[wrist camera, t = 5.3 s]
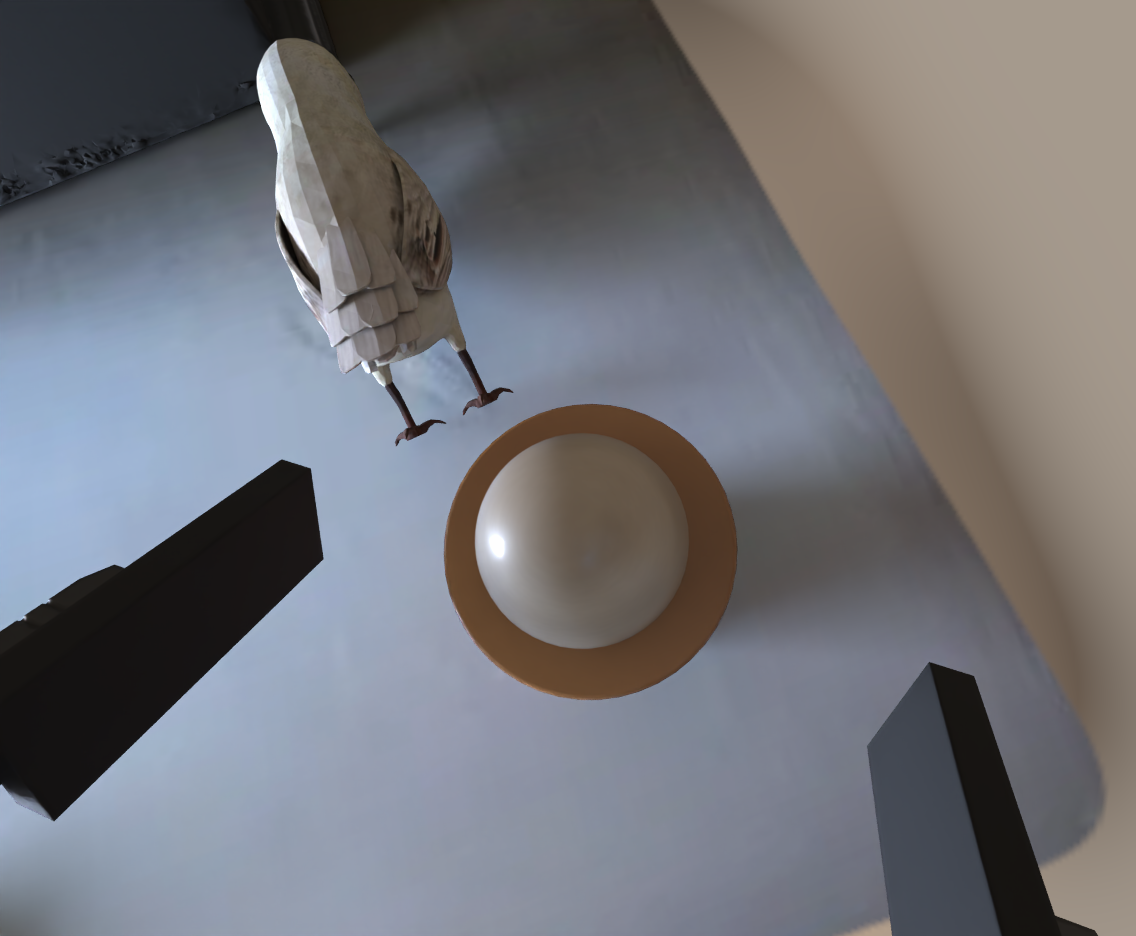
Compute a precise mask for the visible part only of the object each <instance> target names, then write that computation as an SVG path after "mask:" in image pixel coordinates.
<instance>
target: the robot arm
mask: <svg viewBox="0 0 1136 936" xmlns="http://www.w3.org/2000/svg"><path fill="white" fill-rule="evenodd" d="M322 560H323V552H322V545H321V538H320V531H319V523H318V516H317V509H316V502H315V495H314V488H313V481H312V474H311V468H307V467H304V466H301V465H298V464H295V463H291V462H288V461H285V460H282V459H281V460H280V461H279V462H277V463H276V464H274V465H273V466H271V467H270V468H269V469H267V470H266V471H264V472H263V473H261V474H260V475H258V476H257V477H256V478H254V479H253V480H251V481H250V482H248V483H247V484H245V485H244V486H243V487H241V488H240V489H238V490H237V491H235V492H234V493H232V494H231V495H230V496H228V497H227V498H225V499H224V500H222V501H221V502H220V503H218V504H217V505H215V506H214V507H212V508H211V509H209V510H208V511H207V512H205V513H204V514H202V515H201V516H199V517H198V518H196V519H195V520H194V521H192V522H191V523H189V524H188V525H186V526H185V527H184V528H182V529H181V530H179V531H178V532H176V533H175V534H173V535H172V536H171V537H169V538H168V539H166V540H165V541H163V542H162V543H160V544H159V545H158V546H156V547H155V548H153V549H152V550H150V551H149V552H148V553H146V554H145V555H143V556H142V557H140V558H139V559H137V560H136V561H135V562H133V563H132V564H130V565H129V566H127V567H126V568H122V567H120V566H117V565H112V566H110V567H107V568H105V569H103V570H100V571H98V572H95V573H93V574H90V575H88V576H85V577H83V578H81V579H79V580H77V581H76V582H74V583H73V584H71V585H70V586H68V587H67V588H65V589H64V590H62V591H61V592H59V593H58V594H56V595H55V596H53V597H52V598H50V599H49V601H48V603H47V604H41V605H40V606H38V607H37V608H35V609H33V610H32V611H30V612H29V613H27V614H26V615H24V618H23V619H22V620H21V621H15V622H14V623H12V624H11V625H9V626H8V627H6V628H5V629H3V630H2V631H0V785H1V784H2V785H3V786H4V788H5V789H6V790H7V791H8V793H9V794H10V795H11V797H12V798H13V799H14V800H15V802H16V803H17V804H19V805H21V806H23V807H25V808H28V809H30V810H32V811H34V812H36V813H38V814H40V815H42V816H44V817H46V818H48V819H50V820H52V821H55V820H56V819H57V818H58V817H59V816H60V815H61V814H62V813H63V812H64V811H65V810H66V809H67V808H68V807H69V806H70V805H71V804H72V803H73V802H74V801H76V800H77V799H78V798H79V797H80V796H81V795H82V794H83V793H84V792H85V791H86V790H87V789H88V788H89V787H90V786H91V785H92V784H93V783H94V782H95V781H96V780H97V779H98V778H99V777H100V776H101V775H102V774H103V773H104V772H105V771H106V770H107V769H108V768H109V767H110V766H111V765H112V764H113V763H115V762H116V761H117V760H118V759H119V758H120V757H121V756H122V755H123V754H124V753H125V752H126V751H127V750H128V749H129V748H130V747H131V746H132V745H133V744H134V743H135V742H136V741H137V740H138V739H139V738H140V737H141V736H142V735H143V734H144V733H145V732H146V731H147V730H148V729H149V728H150V727H151V726H153V725H154V724H155V723H156V722H157V721H158V720H159V719H160V718H161V717H162V716H163V715H164V714H165V713H166V712H167V711H168V710H169V709H170V708H171V707H172V706H173V705H174V704H175V703H176V702H177V701H178V700H179V699H180V698H181V697H182V696H183V695H184V694H185V693H186V692H187V691H188V690H189V689H190V688H192V687H193V686H194V685H195V684H196V683H197V682H198V681H199V680H200V679H201V678H202V677H203V676H204V675H205V674H206V673H207V672H208V671H209V670H210V669H211V668H212V667H213V666H214V665H215V664H216V663H217V662H218V661H219V660H220V659H221V658H222V657H223V656H224V655H225V654H226V653H227V652H228V651H230V650H231V649H232V648H233V647H234V646H235V645H236V644H237V643H238V642H239V641H240V640H241V639H242V638H243V637H244V636H245V635H246V634H247V633H248V632H249V631H250V630H251V629H252V628H253V627H254V626H255V625H256V624H257V623H258V622H259V621H260V620H261V619H262V618H263V617H264V616H265V615H266V614H267V613H269V612H270V611H271V610H272V609H273V608H274V607H275V606H276V605H277V604H278V603H279V602H280V601H281V600H282V599H283V598H284V597H285V596H286V595H287V594H288V593H289V592H290V591H291V590H292V589H293V588H294V587H295V586H296V585H297V584H298V583H299V582H300V581H301V580H302V579H303V578H304V577H305V576H307V575H308V574H309V573H310V572H311V571H312V570H313V569H314V568H315V567H316V566H317V565H318V564H319V563H320V562H321V561H322ZM867 749H868V756H869V764H870V771H871V779H872V786H873V794H874V802H875V809H876V817H877V824H878V832H879V839H880V847H881V855H882V862H883V870H884V877H885V885H886V892H887V900H888V908H889V915H890V923H891V930H892V936H1098V935H1097V933H1096V932H1095V930H1092V929H1089V928H1087V927H1084V926H1081V925H1079V924H1076V923H1073V922H1071V921H1068V920H1065V919H1063V918H1060V917H1057V916H1055V915H1054V912H1053V909H1052V906H1051V903H1050V900H1049V897H1048V894H1047V891H1046V888H1045V885H1044V882H1043V879H1042V876H1041V873H1040V870H1039V867H1038V864H1037V861H1036V858H1035V855H1034V852H1033V849H1032V846H1031V843H1030V840H1029V837H1028V835H1027V832H1026V829H1025V826H1024V823H1023V820H1022V817H1021V814H1020V811H1019V808H1018V805H1017V802H1016V799H1015V796H1014V793H1013V790H1012V787H1011V784H1010V781H1009V778H1008V775H1007V772H1006V769H1005V766H1004V763H1003V760H1002V758H1001V755H1000V752H999V749H998V746H997V743H996V740H995V737H994V734H993V731H992V728H991V725H990V722H989V719H988V716H987V713H986V710H985V707H984V704H983V701H982V698H981V695H980V692H979V689H978V686H977V683H976V680H975V678H974V676H972V675H969V674H966V673H962V672H959V671H956V670H953V669H950V668H946V667H943V666H940V665H937V664H934V663H930V662H929V663H928V664H927V666H926V667H925V668H924V670H923V671H922V673H921V674H920V675H919V677H918V678H917V679H916V681H915V682H914V683H913V685H912V686H911V687H910V689H909V690H908V692H907V693H906V694H905V696H904V697H903V698H902V700H901V701H900V702H899V704H898V705H897V706H896V708H895V709H894V711H893V712H892V713H891V715H890V716H889V717H888V719H887V720H886V721H885V723H884V724H883V725H882V727H881V728H880V730H879V731H878V732H877V734H876V735H875V736H874V738H873V739H872V740H871V742H870V743H869V744H868V746H867Z"/></svg>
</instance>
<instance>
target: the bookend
mask: <svg viewBox="0 0 1136 936" xmlns="http://www.w3.org/2000/svg"><path fill="white" fill-rule="evenodd" d="M286 38H298V39H303V40H307V41H310V42H313V43H316V44H318V45H320V46H322V47H324V48H325V49H326V50H327V51H328V52H330V53H331V54H332V55H333V56H334V57H335V58H336V59H337V60H338V58H337V55H336V52H335V48H334V46H333V43H332V40H331V37H330V34H329V30H328V27H327V24H326V21H325V18H324V15H323V12H322V9H321V6H320V3H319V0H0V207H1V206H3V205H5V204H8V203H11V202H13V201H15V200H17V199H20V198H23V197H25V196H28V195H30V194H33V193H35V192H38V191H41V190H43V189H45V188H48V187H50V186H52V185H55V184H57V183H60V182H63V181H65V180H67V179H70V178H72V177H75V176H77V175H79V174H82V173H85V172H87V171H90V170H92V169H94V168H96V167H98V166H101V165H104V164H107V163H109V162H111V161H114V160H116V159H119V158H121V157H123V156H126V155H128V154H131V153H133V152H136V151H138V150H141V149H143V148H145V147H148V146H150V145H153V144H155V143H158V142H161V141H163V140H166V139H168V138H169V137H171V136H175V135H177V134H179V133H181V132H184V131H187V130H189V129H192V128H194V127H197V126H199V125H201V124H203V123H207V122H209V121H211V120H214V119H216V118H219V117H221V116H223V115H226V114H228V113H231V112H233V111H235V110H237V109H240V108H242V107H244V106H247V105H250V104H253V103H255V102H257V101H259V95H258V89H257V72H258V68H259V65H260V63H261V60H262V58H263V56H264V54H265V52H266V51H267V50H268V48H269V47H270V46H271V45H272V44H273V43H274V42H275V41H276V40H281V39H286Z"/></svg>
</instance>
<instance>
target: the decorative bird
mask: <svg viewBox="0 0 1136 936" xmlns="http://www.w3.org/2000/svg"><path fill="white" fill-rule="evenodd" d="M257 89H258V95H259V100H260V103H261V107H262V111H263V114H264V116H265V118H266V120H267V122H268V124H269V126H270V128H271V130H272V133H273V136H274V139H275V142H276V146H277V151H278V160H277V173H276V191H275V197H276V206H277V213H276V220H275V230H276V236H277V240H278V243H279V246H280V249H281V252H282V254H283V256H284V258H285V260H286V262H287V264H288V266H289V268H290V270H291V272H292V274H293V277H294V279H295V282H296V284H297V287H298V289H299V291H300V293H301V295H302V297H303V299H304V301H305V303H306V304H307V306H308V307H309V309H310V310H311V312H312V313H313V314H314V316H315V317H316V319H317V320H318V321H319V323H320V324H321V326H322V327H323V328H324V330H325V331H326V333H327V334H328V336H329V341H330V344H331V347H336V349H337V356H338V362H339V367H340V370H341V373H347V372H349V371H351V370H352V369H354V368H355V367H357V366H358V365H359V364H360V363H362V366H363V368H364V370H365V372H366V373H373V375H374V376H375V378H376V379H377V381H378V382H379V383H380V384H381V385H383V386H385V388H386V390H387V391H388V393H389V394H390V395H391V397H392V398H393V400H394V401H395V403H396V404H397V406H398V407H399V409H400V411H401V413H402V416H403V418H404V420H405V422H406V424H407V426H408V428H407V429H405V430H404V432H402V433H400V434H399V435H398V437H397V439H396V441H395V444H396V446H397V445H398V443H399V441H400V440H401V439H406V440H407V441H408V440H411V439H413V438H415V437H417V436H419V435H422V434H424V433H426V432H427V430H428V429H429V427H430V426H431V425H433V424H434V423H444V424H446V423H445V422H443V421H441V420H432V419H431V420H428V421H426V422H424V423H422V424H421V425H418V426H416V424H415V422H414V420H413V418H412V416H411V414H410V412H409V410H408V408H407V406H406V404H405V402H404V400H403V398H402V396H401V394H400V392H399V391H398V389H397V388H396V387H395V385H394V383H393V381H392V375H391V371H390V368H389V363H393V362H397V361H401V360H403V359H406V358H409V357H412V356H415V355H417V354H420V353H422V352H424V351H425V350H427V349H429V348H430V347H431V346H432V345H434V344H435V343H436V342H437V341H439V340H440V339H442V338H445V339H446V340H447V341H448V342H449V344H450V345H451V347H452V348H453V349H454V350H455V351H456V352H457V353H458V355H459V357H460V359H461V360H462V362H463V364H464V365H465V367H466V369H467V371H468V372H469V374H470V376H471V378H472V380H473V383H474V385H475V387H476V389H477V391H478V393H479V396H478V399H473V400H471V401H469V402H468V403H467V405H466V406H465V408H464V410H463V415H464V414H465V413H466V411H467V409H468V408H469V407H472V406H475V407H477V408H480V407H482V406H484V405H487V404H489V403H491V402H493V401H495V400H497V398H498V396H499V394H500V393H502V392H503V391H505V392H512V393H513V391H511V390H510V389H506V388H497V389H495V390H493V391H491V393H487V392H486V390H485V388H484V385H483V383H482V381H481V379H480V377H479V375H478V373H477V371H476V368H475V366H474V364H473V362H472V359H471V357H470V356H469V354H468V352H467V350H466V342H465V339H464V336H463V333H462V330H461V328H460V325H459V321H458V318H457V314H456V311H455V307H454V303H453V300H452V296H451V294H450V292H449V289H448V286H447V281H448V278H449V275H450V272H451V268H452V251H451V244H450V237H449V233H448V229H447V226H446V223H445V221H444V219H443V217H442V214H441V212H440V211H439V209H438V207H437V205H436V203H435V202H434V200H433V198H432V196H431V194H430V193H429V191H428V189H427V187H426V185H425V184H424V183H423V181H422V180H421V179H420V178H419V177H418V175H417V174H416V173H415V172H414V171H413V169H412V168H411V167H410V166H409V164H408V163H407V162H406V161H405V160H404V159H403V158H402V157H401V156H400V155H398V154H397V153H396V152H395V151H393V150H392V149H390V148H389V147H387V146H386V144H385V143H384V142H383V141H382V140H381V138H380V137H379V136H378V135H377V133H376V132H375V130H374V128H373V126H372V124H371V123H370V121H369V119H368V117H367V116H366V112H365V108H364V104H363V100H362V97H361V94H360V92H359V89H358V87H357V86H356V84H355V82H354V79H353V78H352V76H351V75H350V74H349V73H347V71H346V70H345V68H344V67H343V66H342V65H341V64H340V63H339V61H338V60H337V59H336V58H335V57H334V56H333V55H332V54H331V53H330V52H328V51H327V50H326V49H325V48H324V47H322V46H320V45H318V44H316V43H313V42H310V41H307V40H303V39H298V38H286V39H281V40H276V41H275V42H274V43H273V44H272V45H271V46H270V47H269V48H268V50H267V51H266V52H265V54H264V56H263V58H262V60H261V63H260V65H259V68H258V72H257Z"/></svg>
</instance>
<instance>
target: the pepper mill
mask: <svg viewBox="0 0 1136 936" xmlns="http://www.w3.org/2000/svg"><path fill="white" fill-rule="evenodd" d="M444 564H445V575H446V580H447V584H448V589H449V594H450V596H451V599H452V602H453V605H454V608H455V610H456V613H457V615H458V617H459V619H460V621H461V623H462V624H463V626H464V628H465V630H466V631H467V633H468V634H469V636H470V637H471V639H472V640H473V642H474V643H475V644H476V646H477V647H478V648H479V649H480V650H481V651H482V652H483V653H484V654H485V656H486V657H487V658H488V659H489V660H490V661H491V662H493V663H494V664H495V665H496V666H497V667H499V668H500V669H501V670H502V671H503V672H505V673H506V674H508V675H510V676H511V677H513V678H514V679H516V680H517V681H519V682H521V683H523V684H525V685H527V686H529V687H532V688H534V689H536V690H538V691H541V692H544V693H548V694H551V695H555V696H558V697H564V698H571V699H577V700H602V699H609V698H617V697H622V696H625V695H629V694H632V693H636V692H639V691H642V690H644V689H646V688H648V687H651V686H653V685H655V684H658V683H659V682H661V681H663V680H664V679H666V678H667V677H669V676H671V675H672V674H674V673H676V672H677V671H678V670H679V669H680V668H682V667H683V666H684V665H685V664H686V663H688V662H689V661H690V660H691V659H692V658H693V657H694V656H695V655H696V654H697V653H698V652H699V650H700V649H701V648H702V647H703V646H704V645H705V644H706V642H707V641H708V639H709V638H710V636H711V635H712V634H713V632H714V631H715V629H716V628H717V626H718V624H719V622H720V620H721V618H722V616H723V614H724V612H725V610H726V607H727V604H728V601H729V598H730V595H731V593H732V590H733V584H734V579H735V574H736V567H737V538H736V528H735V523H734V519H733V514H732V510H731V507H730V504H729V502H728V499H727V496H726V493H725V491H724V489H723V487H722V485H721V483H720V481H719V479H718V477H717V475H716V474H715V472H714V471H713V469H712V468H711V467H710V465H709V464H708V462H707V461H706V459H705V458H704V457H703V456H702V455H701V454H700V453H699V452H698V451H697V449H696V448H695V447H694V446H693V445H692V444H691V443H690V442H688V441H687V440H686V439H685V438H684V437H682V436H681V435H680V434H679V433H678V432H676V431H675V430H673V429H671V428H670V427H668V426H667V425H665V424H664V423H662V422H660V421H658V420H656V419H654V418H652V417H650V416H648V415H645V414H642V413H639V412H636V411H633V410H630V409H627V408H622V407H617V406H611V405H599V404H584V405H572V406H566V407H561V408H556V409H552V410H549V411H546V412H543V413H540V414H537V415H535V416H533V417H531V418H528V419H526V420H524V421H522V422H520V423H519V424H517V425H516V426H514V427H512V428H511V429H509V430H507V431H506V432H505V433H504V434H502V435H501V436H500V437H499V438H497V439H496V440H495V441H493V442H492V443H491V445H490V446H489V447H488V448H487V449H486V450H485V451H484V452H483V453H482V454H481V455H480V456H479V457H478V459H477V460H476V461H475V462H474V464H473V465H472V466H471V468H470V469H469V471H468V472H467V474H466V476H465V477H464V479H463V481H462V482H461V484H460V486H459V489H458V491H457V493H456V495H455V498H454V500H453V503H452V506H451V509H450V513H449V516H448V520H447V526H446V532H445V539H444Z"/></svg>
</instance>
